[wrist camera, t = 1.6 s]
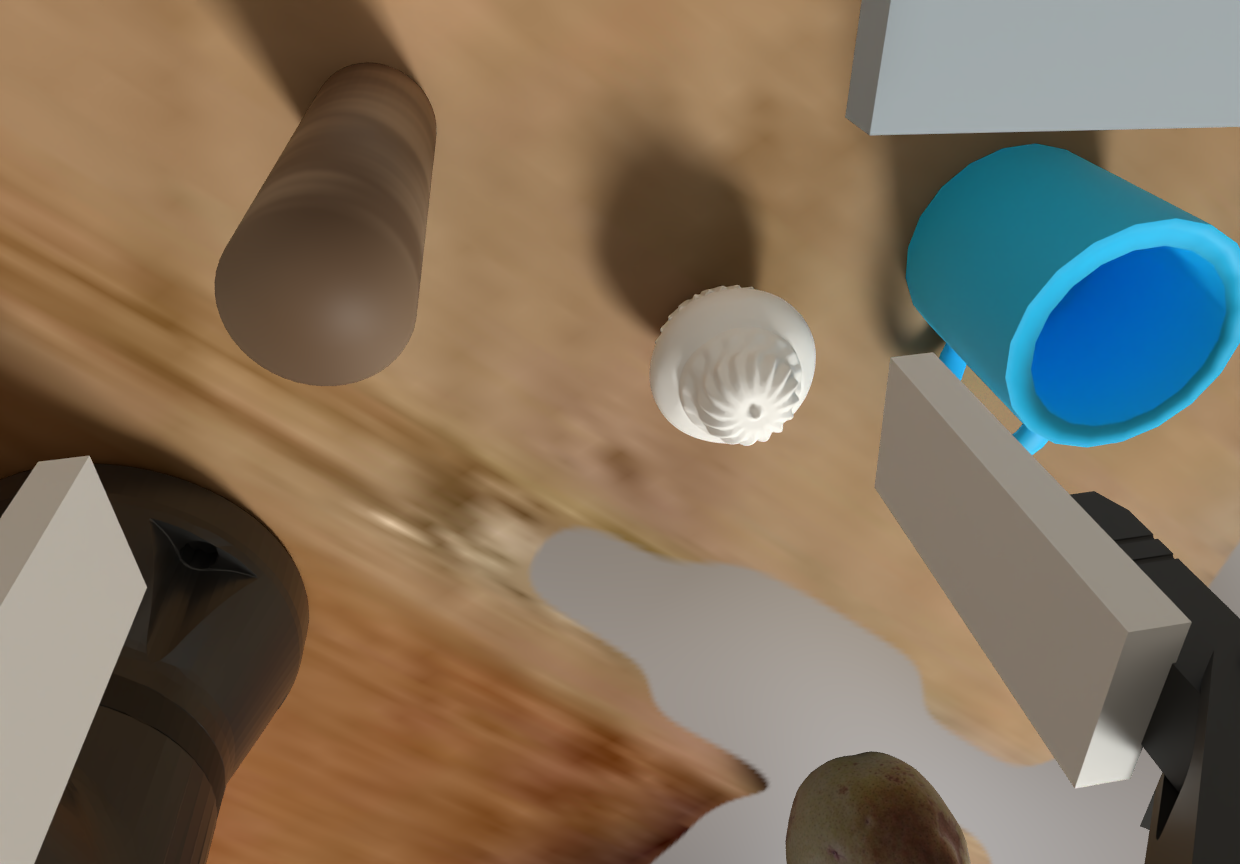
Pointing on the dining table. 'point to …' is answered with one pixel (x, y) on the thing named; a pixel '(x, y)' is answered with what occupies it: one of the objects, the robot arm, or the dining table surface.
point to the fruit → (871, 816)
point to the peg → (336, 235)
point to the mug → (1074, 295)
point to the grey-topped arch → (1044, 65)
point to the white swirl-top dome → (732, 365)
